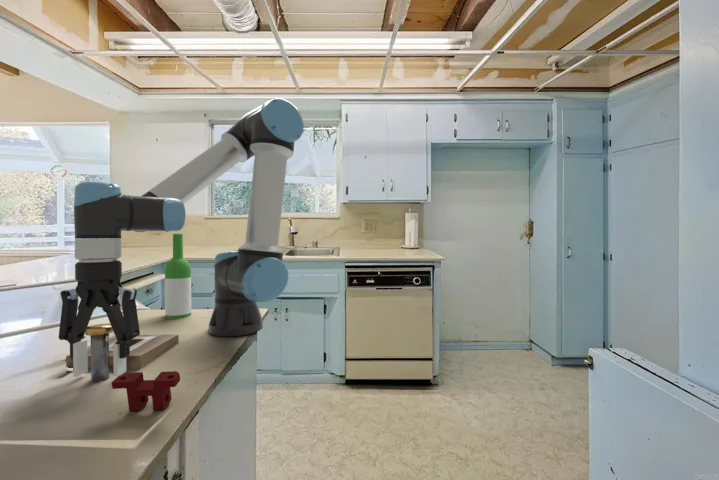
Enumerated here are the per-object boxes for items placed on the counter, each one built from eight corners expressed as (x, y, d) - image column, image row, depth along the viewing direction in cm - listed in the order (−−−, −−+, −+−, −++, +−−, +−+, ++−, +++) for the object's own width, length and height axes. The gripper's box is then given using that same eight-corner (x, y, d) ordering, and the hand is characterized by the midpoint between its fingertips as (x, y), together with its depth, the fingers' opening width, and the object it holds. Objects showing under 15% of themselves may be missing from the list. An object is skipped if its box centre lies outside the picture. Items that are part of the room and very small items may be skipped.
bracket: (121, 372, 60) (181, 371, 61) (125, 402, 61) (184, 400, 62) (111, 382, 57) (174, 380, 58) (115, 413, 58) (177, 411, 59)
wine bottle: (175, 327, 111) (175, 233, 111) (159, 325, 114) (159, 233, 114) (196, 322, 118) (196, 233, 118) (180, 320, 121) (180, 233, 121)
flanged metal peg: (119, 376, 73) (119, 323, 73) (103, 386, 68) (103, 329, 68) (97, 377, 73) (96, 323, 73) (80, 386, 68) (79, 329, 68)
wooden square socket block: (178, 347, 91) (178, 333, 91) (140, 371, 75) (140, 354, 75) (117, 348, 91) (117, 333, 91) (66, 372, 75) (66, 355, 75)
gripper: (159, 258, 74) (160, 366, 74) (64, 259, 74) (65, 367, 74) (137, 261, 66) (138, 381, 67) (31, 261, 66) (33, 381, 67)
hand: (100, 373), depth 70 cm, fingers open, 7 cm apart
